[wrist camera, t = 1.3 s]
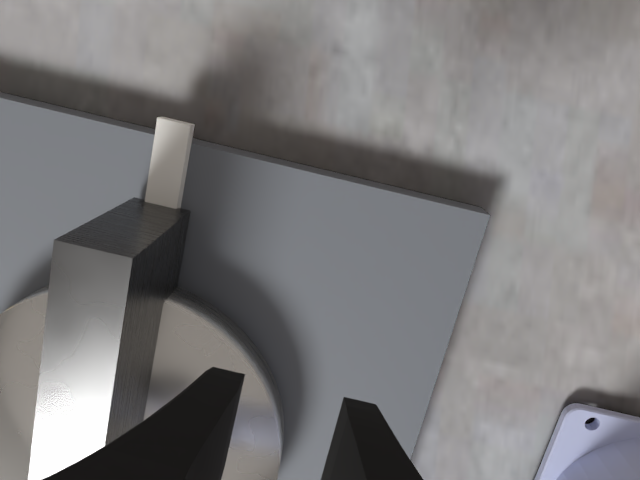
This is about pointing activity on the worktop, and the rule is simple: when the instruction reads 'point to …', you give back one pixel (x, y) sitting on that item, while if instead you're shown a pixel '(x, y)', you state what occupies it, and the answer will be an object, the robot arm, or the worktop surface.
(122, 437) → the robot arm
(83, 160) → the board
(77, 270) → the dial
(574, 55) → the worktop surface
